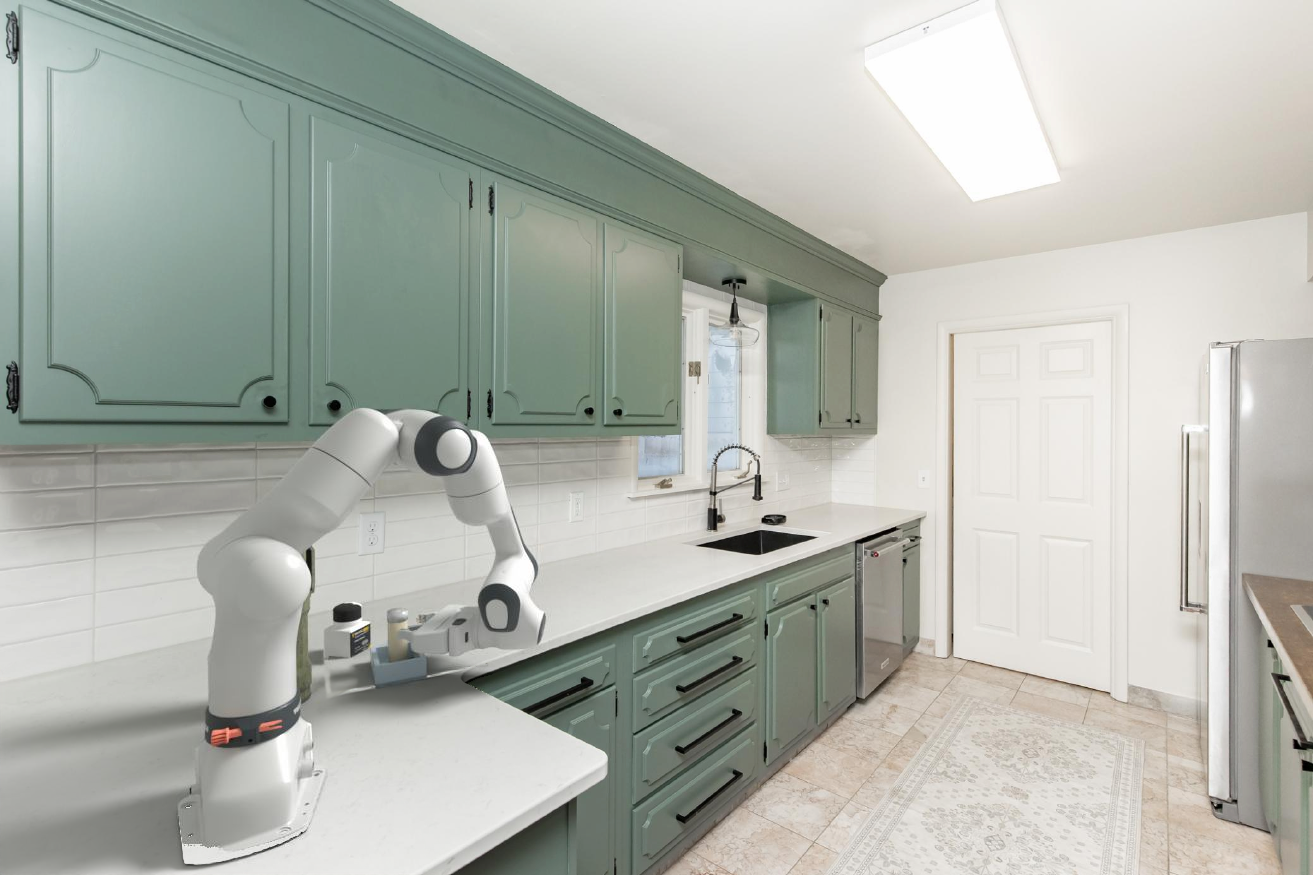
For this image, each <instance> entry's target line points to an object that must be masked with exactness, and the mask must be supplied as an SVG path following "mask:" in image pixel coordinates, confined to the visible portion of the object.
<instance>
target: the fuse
mask: <svg viewBox="0 0 1313 875" xmlns="http://www.w3.org/2000/svg"><path fill="white" fill-rule="evenodd" d="M408 610H409V609H408V608H406V607H395V608H390V609H388V610H386V622H387V645H388V661H387V662H386V663H391V662H397V661H402V660H408V659H409V658H408V641H407V640H405V639H398V638H397V632H398V631H399V630H400V629H407V626H408V619H409V611H408Z"/></svg>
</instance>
